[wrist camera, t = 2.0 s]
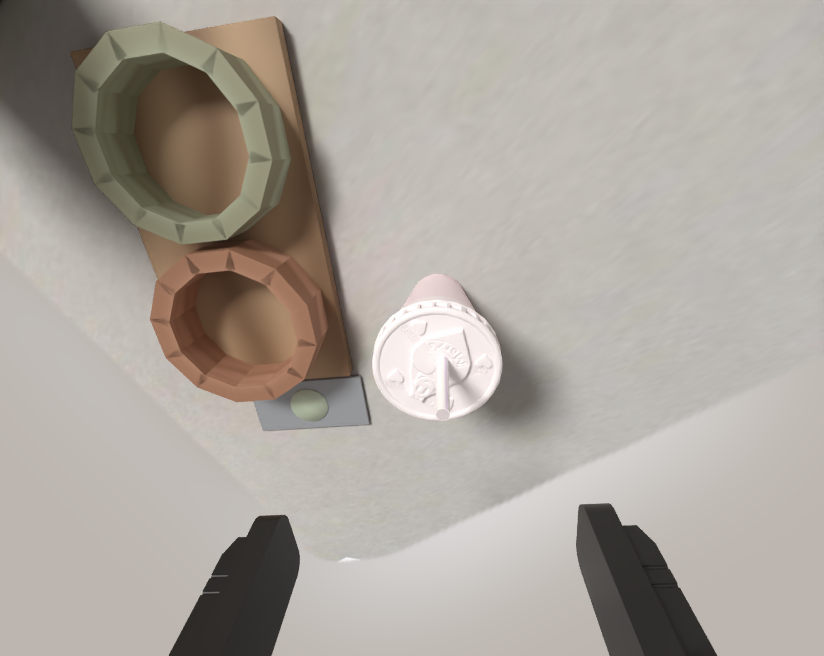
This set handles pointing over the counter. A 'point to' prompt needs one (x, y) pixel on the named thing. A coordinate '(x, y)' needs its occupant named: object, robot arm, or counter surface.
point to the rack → (216, 200)
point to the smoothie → (437, 353)
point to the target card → (316, 405)
